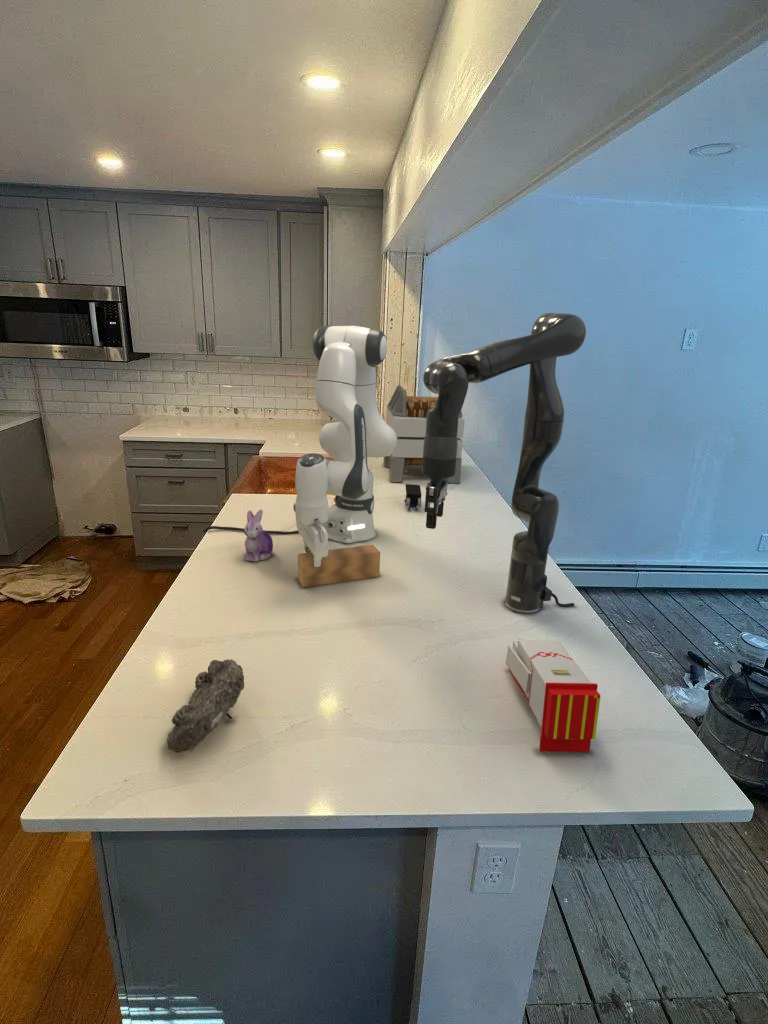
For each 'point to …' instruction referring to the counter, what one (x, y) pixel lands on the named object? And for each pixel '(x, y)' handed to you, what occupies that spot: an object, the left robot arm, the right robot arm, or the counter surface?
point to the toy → (556, 694)
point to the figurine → (257, 538)
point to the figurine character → (413, 496)
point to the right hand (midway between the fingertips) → (434, 521)
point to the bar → (339, 565)
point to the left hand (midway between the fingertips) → (312, 558)
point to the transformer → (413, 433)
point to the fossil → (206, 705)
